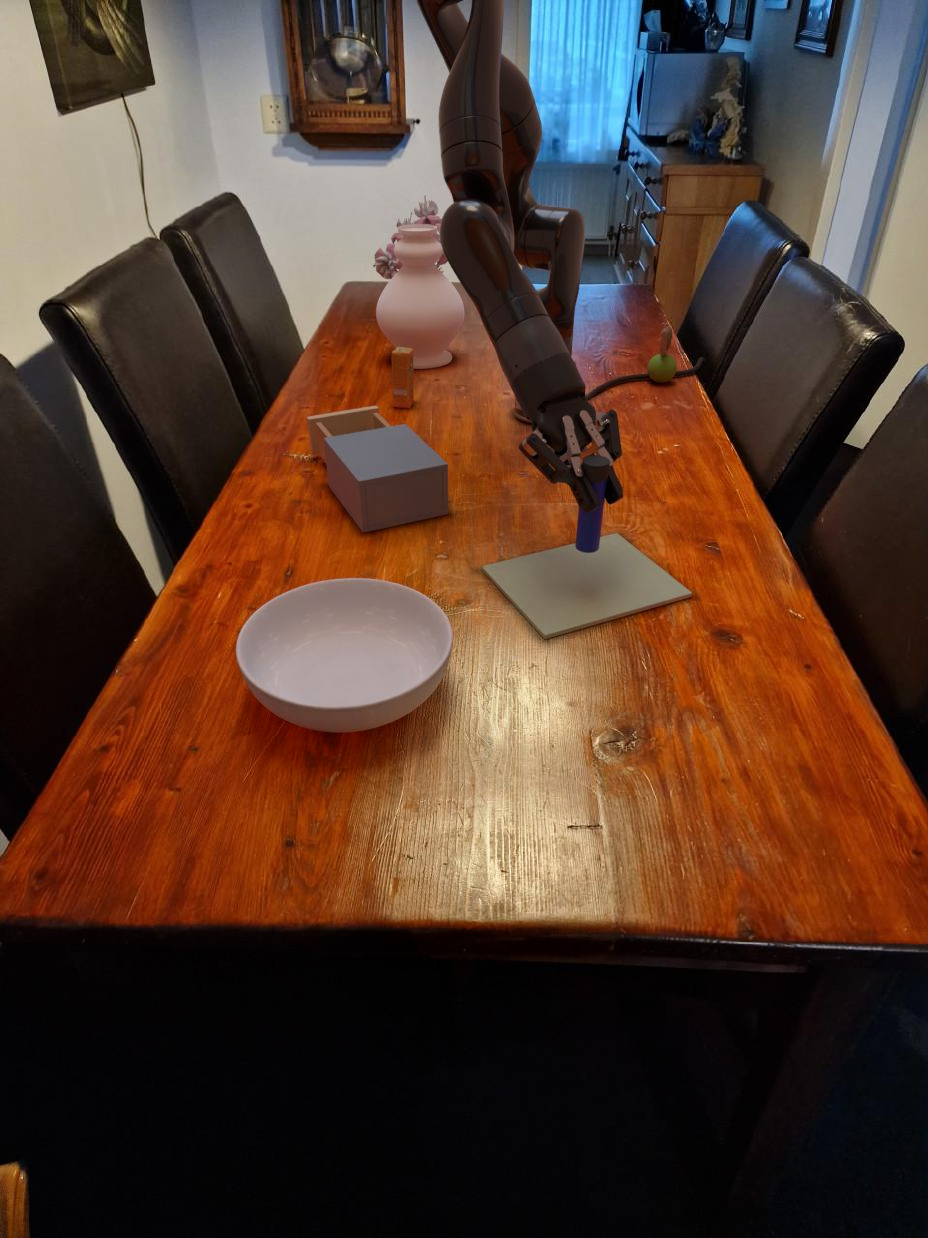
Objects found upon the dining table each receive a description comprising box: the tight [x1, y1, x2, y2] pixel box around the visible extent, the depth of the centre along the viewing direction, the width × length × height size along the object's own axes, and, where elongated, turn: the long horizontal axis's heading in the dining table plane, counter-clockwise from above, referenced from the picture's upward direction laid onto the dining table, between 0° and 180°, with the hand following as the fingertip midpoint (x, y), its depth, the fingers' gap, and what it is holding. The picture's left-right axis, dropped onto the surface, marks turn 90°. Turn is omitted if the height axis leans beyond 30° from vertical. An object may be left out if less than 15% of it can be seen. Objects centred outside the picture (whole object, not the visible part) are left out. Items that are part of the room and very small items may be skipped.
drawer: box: [306, 405, 392, 464], centre depth 125 cm, size 19×11×6 cm, turn 25°
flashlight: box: [574, 454, 610, 553], centre depth 93 cm, size 3×3×11 cm
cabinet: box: [323, 423, 449, 534], centre depth 115 cm, size 16×13×8 cm
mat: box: [481, 532, 693, 640], centre depth 99 cm, size 20×16×1 cm
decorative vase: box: [375, 223, 466, 370], centre depth 162 cm, size 18×18×25 cm
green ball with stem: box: [646, 322, 678, 384], centre depth 154 cm, size 5×6×12 cm
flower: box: [372, 195, 449, 280], centre depth 193 cm, size 20×22×25 cm
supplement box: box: [391, 347, 414, 409], centre depth 145 cm, size 3×3×10 cm
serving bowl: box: [235, 577, 454, 733], centre depth 81 cm, size 21×21×7 cm
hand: (604, 504), depth 91 cm, fingers closed on flashlight, 3 cm apart
